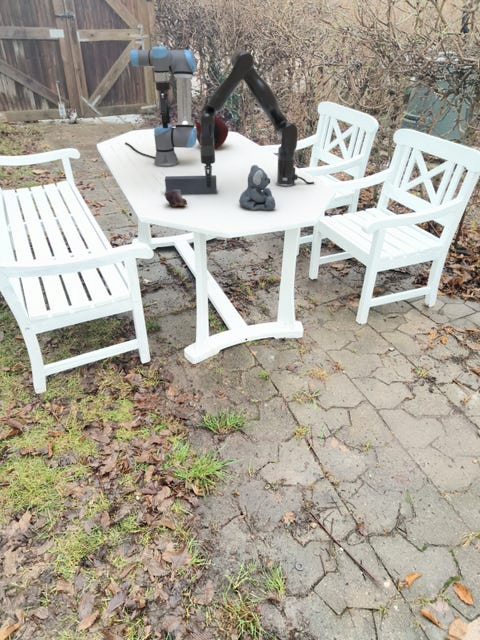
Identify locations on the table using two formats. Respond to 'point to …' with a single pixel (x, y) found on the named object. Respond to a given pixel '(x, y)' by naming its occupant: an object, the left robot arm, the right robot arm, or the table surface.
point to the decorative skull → (215, 132)
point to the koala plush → (257, 191)
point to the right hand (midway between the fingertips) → (209, 185)
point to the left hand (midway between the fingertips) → (166, 125)
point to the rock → (175, 198)
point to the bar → (191, 184)
